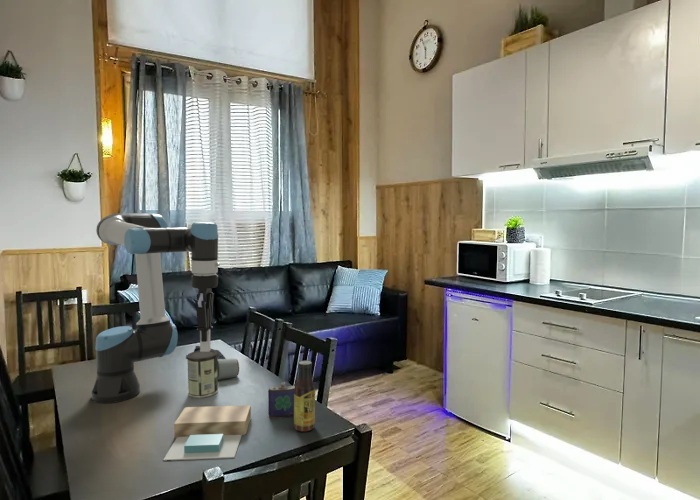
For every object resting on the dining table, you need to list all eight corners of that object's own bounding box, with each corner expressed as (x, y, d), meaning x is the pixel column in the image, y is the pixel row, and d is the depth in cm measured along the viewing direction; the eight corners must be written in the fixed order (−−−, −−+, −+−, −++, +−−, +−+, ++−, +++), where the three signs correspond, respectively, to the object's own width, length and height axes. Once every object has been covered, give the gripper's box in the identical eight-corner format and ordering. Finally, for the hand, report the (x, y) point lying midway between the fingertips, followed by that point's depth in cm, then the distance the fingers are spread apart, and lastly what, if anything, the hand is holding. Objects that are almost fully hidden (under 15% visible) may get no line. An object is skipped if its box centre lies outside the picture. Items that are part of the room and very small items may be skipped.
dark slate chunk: (194, 371, 183) (194, 360, 182) (185, 356, 202) (184, 346, 201) (231, 365, 190) (231, 354, 190) (219, 351, 209) (218, 342, 209)
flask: (297, 412, 143) (296, 379, 142) (298, 416, 140) (297, 383, 140) (268, 414, 141) (267, 382, 140) (268, 418, 138) (268, 385, 137)
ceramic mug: (240, 378, 173) (240, 359, 172) (219, 382, 169) (218, 362, 168) (233, 371, 182) (233, 352, 182) (212, 374, 178) (212, 355, 178)
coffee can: (202, 385, 166) (201, 348, 165) (224, 389, 162) (223, 351, 161) (181, 395, 157) (180, 356, 156) (203, 400, 152) (202, 360, 151)
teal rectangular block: (190, 435, 123) (190, 441, 123) (184, 446, 117) (184, 453, 117) (223, 433, 124) (223, 440, 124) (218, 444, 118) (218, 451, 118)
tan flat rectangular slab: (174, 437, 126) (174, 423, 126) (185, 419, 137) (185, 407, 137) (245, 434, 128) (245, 421, 128) (250, 417, 139) (250, 405, 139)
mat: (163, 460, 114) (163, 459, 114) (177, 437, 126) (177, 436, 126) (234, 457, 116) (234, 456, 115) (241, 435, 127) (241, 434, 127)
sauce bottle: (306, 434, 128) (306, 367, 127) (289, 429, 131) (289, 363, 130) (319, 426, 134) (319, 361, 132) (303, 421, 137) (302, 358, 135)
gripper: (212, 277, 126) (212, 357, 128) (222, 271, 139) (222, 344, 141) (185, 277, 125) (186, 357, 128) (197, 270, 138) (198, 344, 141)
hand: (205, 350), depth 134 cm, fingers closed
